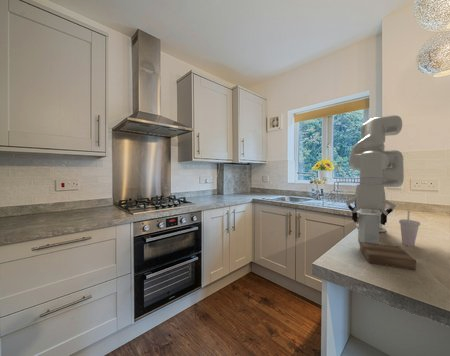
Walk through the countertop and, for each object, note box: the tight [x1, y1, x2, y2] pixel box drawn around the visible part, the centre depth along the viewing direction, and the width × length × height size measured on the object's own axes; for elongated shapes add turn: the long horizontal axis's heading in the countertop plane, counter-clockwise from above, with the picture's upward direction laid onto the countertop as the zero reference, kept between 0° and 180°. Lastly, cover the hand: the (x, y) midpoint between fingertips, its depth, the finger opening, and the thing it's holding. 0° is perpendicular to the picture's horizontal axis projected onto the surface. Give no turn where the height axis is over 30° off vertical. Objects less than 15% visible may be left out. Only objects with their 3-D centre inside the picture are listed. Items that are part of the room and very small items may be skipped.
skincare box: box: [357, 213, 380, 244], centre depth 85 cm, size 6×4×12 cm
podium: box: [359, 241, 417, 271], centre depth 70 cm, size 12×12×3 cm
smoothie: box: [398, 210, 421, 247], centre depth 83 cm, size 6×6×14 cm
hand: (368, 223), depth 84 cm, fingers open, 9 cm apart
